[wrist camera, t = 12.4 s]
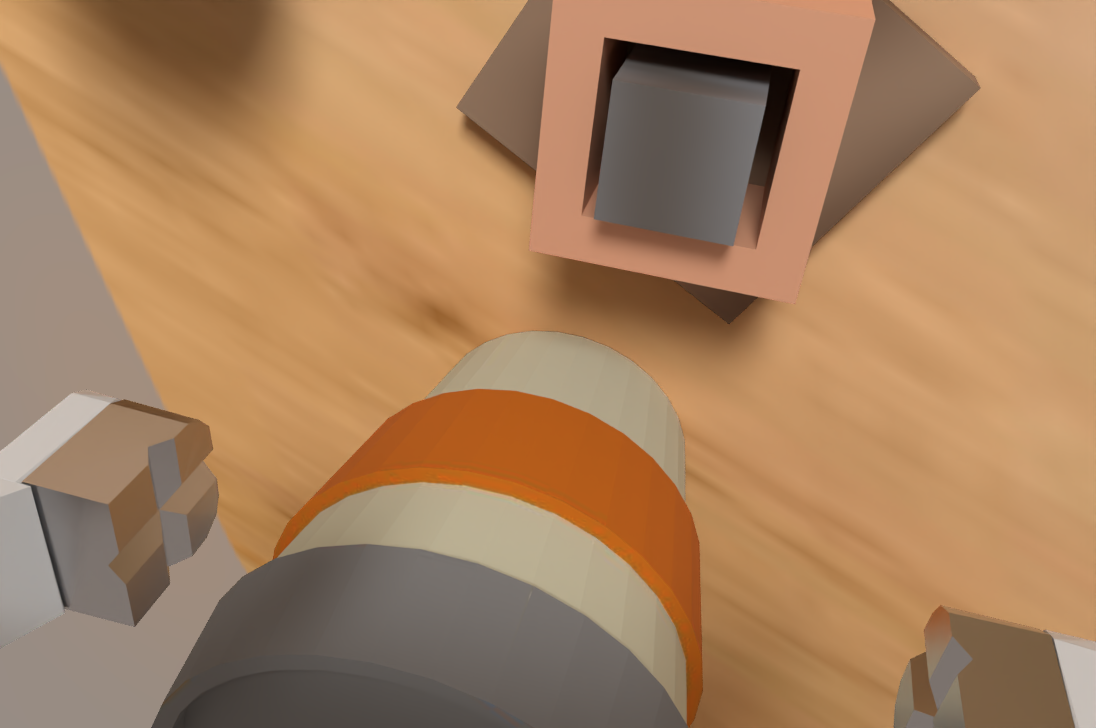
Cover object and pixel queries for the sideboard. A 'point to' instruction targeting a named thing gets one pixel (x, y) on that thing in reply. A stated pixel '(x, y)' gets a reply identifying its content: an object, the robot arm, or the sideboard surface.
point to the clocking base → (867, 140)
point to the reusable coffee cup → (477, 566)
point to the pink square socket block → (768, 212)
